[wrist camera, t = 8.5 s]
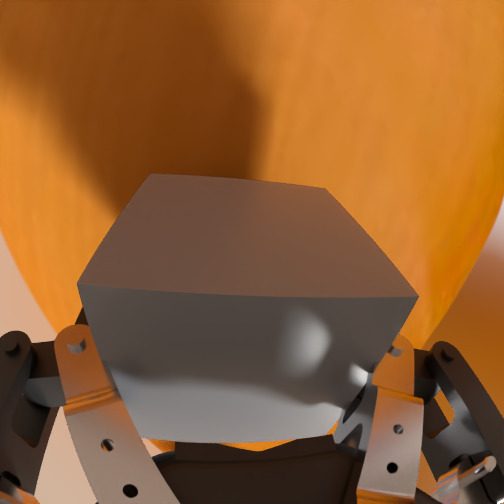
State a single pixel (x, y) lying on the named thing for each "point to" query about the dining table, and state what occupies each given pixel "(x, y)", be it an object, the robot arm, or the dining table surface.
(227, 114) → the dining table surface
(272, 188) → the grey block
